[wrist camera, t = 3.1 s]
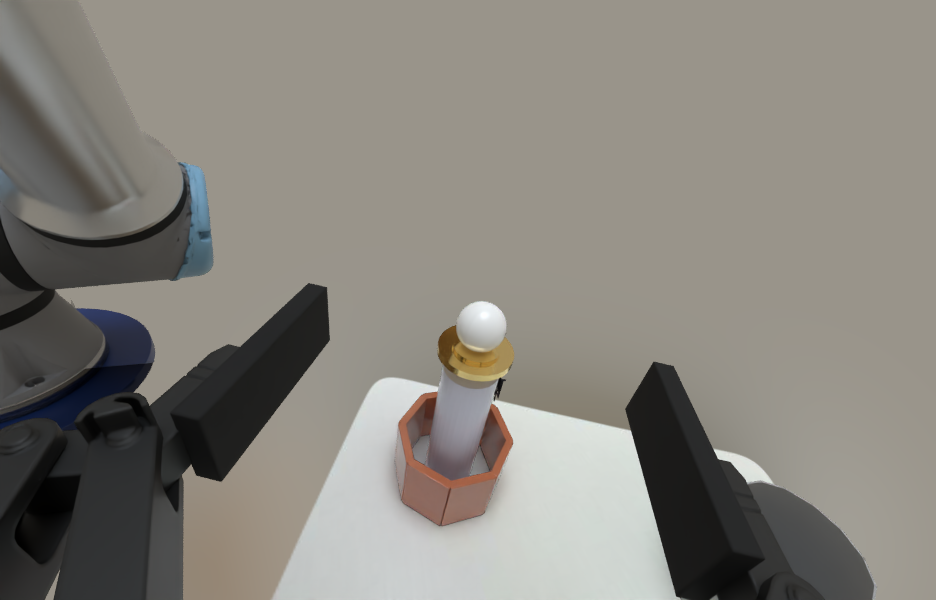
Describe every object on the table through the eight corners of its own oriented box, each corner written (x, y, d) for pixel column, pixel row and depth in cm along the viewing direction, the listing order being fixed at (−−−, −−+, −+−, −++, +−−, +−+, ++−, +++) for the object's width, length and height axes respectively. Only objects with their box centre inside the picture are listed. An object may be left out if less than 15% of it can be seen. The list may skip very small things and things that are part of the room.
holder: (407, 535, 31) (413, 498, 27) (389, 436, 38) (392, 397, 35) (511, 506, 34) (527, 470, 31) (476, 421, 42) (486, 384, 38)
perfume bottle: (451, 512, 33) (498, 345, 22) (405, 471, 35) (427, 302, 24) (487, 468, 37) (541, 309, 26) (444, 434, 39) (477, 275, 28)
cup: (685, 637, 28) (764, 586, 23) (661, 527, 35) (717, 468, 29) (800, 677, 27) (911, 633, 22) (753, 556, 34) (828, 500, 29)
